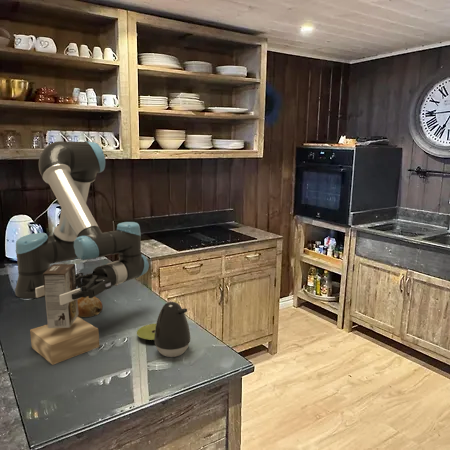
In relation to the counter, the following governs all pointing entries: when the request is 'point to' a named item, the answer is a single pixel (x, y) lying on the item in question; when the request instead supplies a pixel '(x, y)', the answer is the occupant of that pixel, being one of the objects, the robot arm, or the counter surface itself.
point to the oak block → (64, 340)
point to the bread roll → (89, 306)
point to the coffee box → (56, 285)
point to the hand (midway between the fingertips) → (48, 296)
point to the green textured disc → (147, 332)
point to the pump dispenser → (172, 330)
